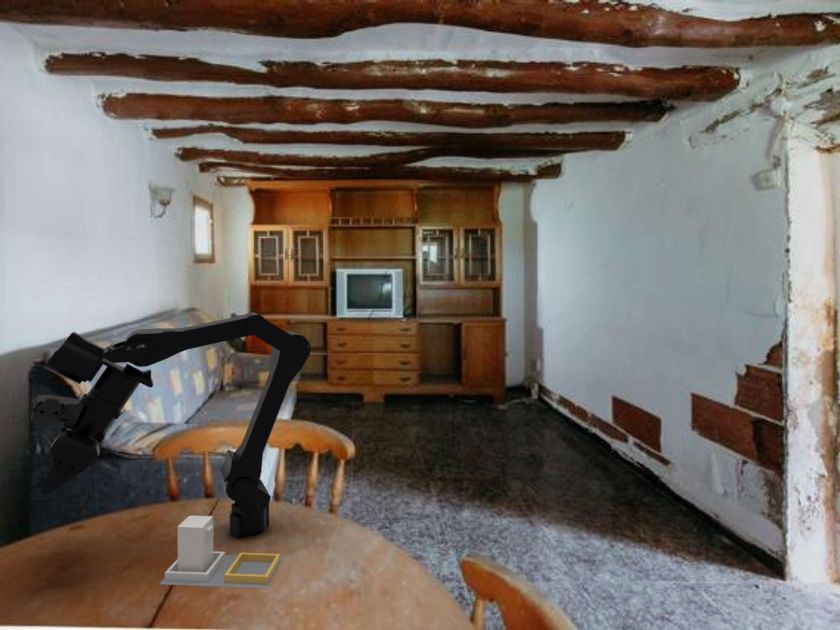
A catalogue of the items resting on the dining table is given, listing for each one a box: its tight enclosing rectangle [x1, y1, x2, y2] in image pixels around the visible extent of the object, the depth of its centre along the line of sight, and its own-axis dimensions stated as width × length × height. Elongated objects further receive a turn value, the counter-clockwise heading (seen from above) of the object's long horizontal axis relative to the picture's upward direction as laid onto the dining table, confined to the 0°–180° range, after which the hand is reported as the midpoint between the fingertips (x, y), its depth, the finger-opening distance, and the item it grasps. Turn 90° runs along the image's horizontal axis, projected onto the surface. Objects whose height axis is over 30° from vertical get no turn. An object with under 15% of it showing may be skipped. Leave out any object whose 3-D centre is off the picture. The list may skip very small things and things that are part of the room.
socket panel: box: [158, 550, 285, 590], centre depth 86 cm, size 17×9×2 cm, turn 88°
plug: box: [177, 515, 215, 573], centre depth 86 cm, size 5×4×8 cm
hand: (48, 483), depth 84 cm, fingers open, 9 cm apart
